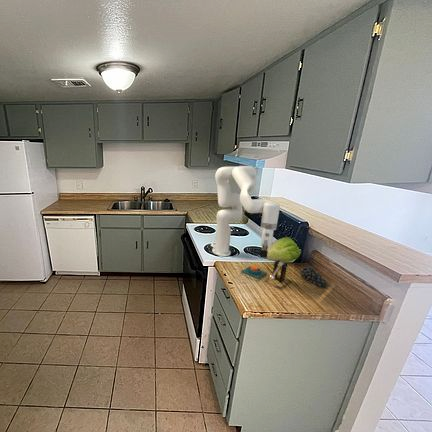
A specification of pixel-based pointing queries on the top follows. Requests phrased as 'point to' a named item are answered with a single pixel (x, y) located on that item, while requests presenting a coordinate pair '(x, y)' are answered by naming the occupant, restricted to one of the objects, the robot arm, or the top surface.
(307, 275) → the fruit
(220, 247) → the robot arm
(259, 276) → the control block
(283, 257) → the lettuce
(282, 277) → the bracket
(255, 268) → the button
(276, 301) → the top surface
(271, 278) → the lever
